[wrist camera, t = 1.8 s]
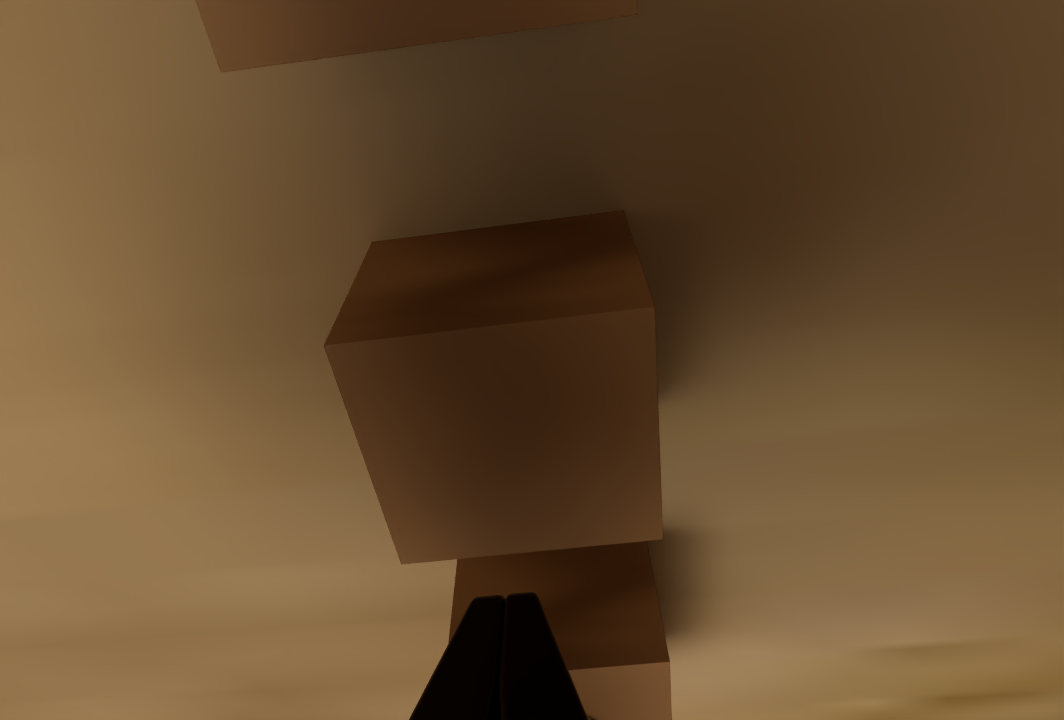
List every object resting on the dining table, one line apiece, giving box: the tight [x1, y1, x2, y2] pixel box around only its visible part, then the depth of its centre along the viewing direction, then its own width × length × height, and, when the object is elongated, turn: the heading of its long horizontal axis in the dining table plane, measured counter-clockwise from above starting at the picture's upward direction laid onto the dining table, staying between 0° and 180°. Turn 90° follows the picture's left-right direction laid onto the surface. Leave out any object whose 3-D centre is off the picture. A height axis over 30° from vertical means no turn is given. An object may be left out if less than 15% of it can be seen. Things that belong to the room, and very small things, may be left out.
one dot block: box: [449, 541, 672, 720], centre depth 18 cm, size 5×5×4 cm
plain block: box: [324, 210, 663, 564], centre depth 13 cm, size 5×5×4 cm
